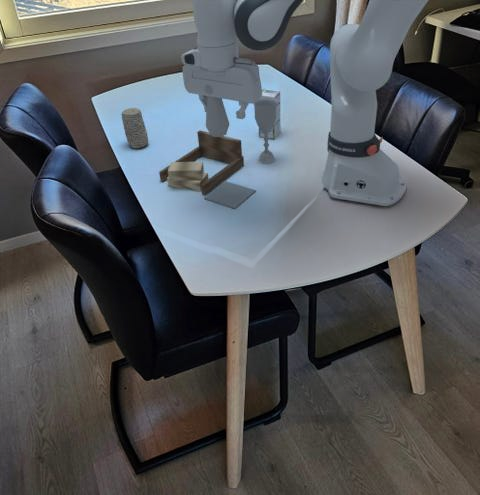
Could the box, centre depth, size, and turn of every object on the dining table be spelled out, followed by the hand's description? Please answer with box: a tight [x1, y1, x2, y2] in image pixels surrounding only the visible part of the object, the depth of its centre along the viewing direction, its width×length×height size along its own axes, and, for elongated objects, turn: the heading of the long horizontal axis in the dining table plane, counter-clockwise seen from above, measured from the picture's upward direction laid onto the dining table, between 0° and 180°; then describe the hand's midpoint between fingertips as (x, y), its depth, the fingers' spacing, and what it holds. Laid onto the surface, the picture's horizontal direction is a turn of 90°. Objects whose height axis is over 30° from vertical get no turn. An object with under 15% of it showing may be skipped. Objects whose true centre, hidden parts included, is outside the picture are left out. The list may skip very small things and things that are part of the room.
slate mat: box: [203, 181, 257, 210], centre depth 130 cm, size 10×10×1 cm
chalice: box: [253, 97, 278, 165], centre depth 139 cm, size 7×7×18 cm
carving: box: [121, 107, 149, 149], centre depth 154 cm, size 6×8×12 cm
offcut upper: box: [168, 161, 205, 181], centre depth 133 cm, size 9×5×3 cm, turn 86°
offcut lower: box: [166, 172, 210, 192], centre depth 135 cm, size 10×6×3 cm, turn 69°
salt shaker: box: [204, 85, 230, 137], centre depth 116 cm, size 6×6×13 cm
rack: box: [158, 130, 245, 196], centre depth 138 cm, size 16×19×8 cm
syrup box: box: [258, 88, 282, 140], centre depth 154 cm, size 6×6×14 cm
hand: (224, 115), depth 116 cm, fingers open, 8 cm apart
